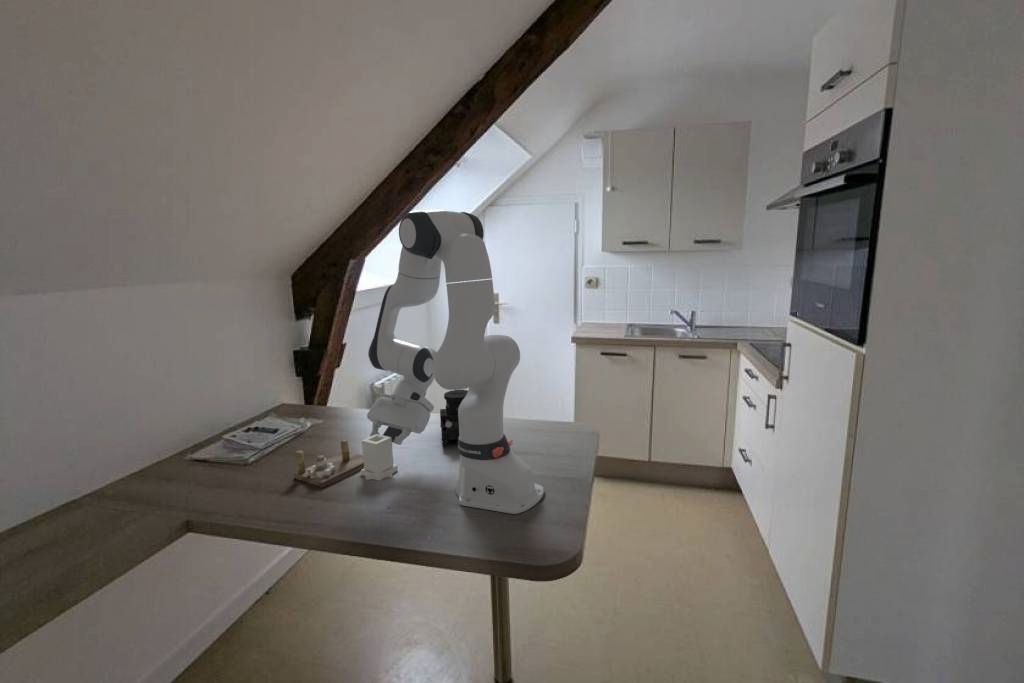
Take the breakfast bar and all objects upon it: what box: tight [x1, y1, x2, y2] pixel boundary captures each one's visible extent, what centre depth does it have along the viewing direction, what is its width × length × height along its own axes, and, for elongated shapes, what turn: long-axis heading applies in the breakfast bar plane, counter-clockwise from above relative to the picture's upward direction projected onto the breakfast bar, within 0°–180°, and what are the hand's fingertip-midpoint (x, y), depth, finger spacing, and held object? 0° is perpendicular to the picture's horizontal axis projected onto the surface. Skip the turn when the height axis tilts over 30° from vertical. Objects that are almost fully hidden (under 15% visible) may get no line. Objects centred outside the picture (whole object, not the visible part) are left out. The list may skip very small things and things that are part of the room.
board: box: [293, 438, 364, 489], centre depth 140 cm, size 12×18×8 cm
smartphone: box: [382, 426, 403, 443], centre depth 168 cm, size 7×1×15 cm
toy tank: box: [439, 389, 469, 447], centre depth 161 cm, size 12×18×15 cm
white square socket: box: [360, 433, 399, 481], centre depth 137 cm, size 10×10×10 cm
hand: (384, 440), depth 139 cm, fingers open, 8 cm apart
